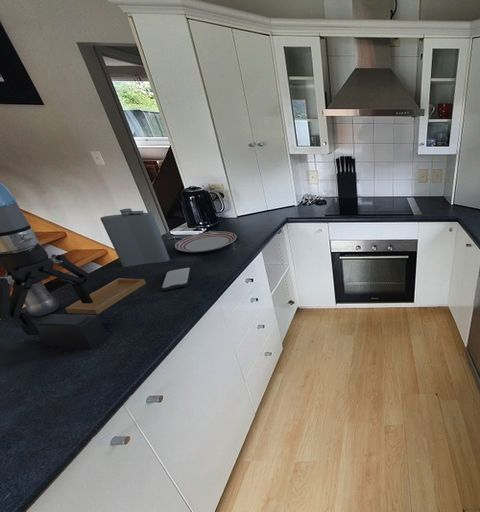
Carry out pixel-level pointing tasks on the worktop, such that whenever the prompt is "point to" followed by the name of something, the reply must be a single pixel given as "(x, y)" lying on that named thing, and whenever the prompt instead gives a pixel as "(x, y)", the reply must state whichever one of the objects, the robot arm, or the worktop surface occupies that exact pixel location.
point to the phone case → (176, 279)
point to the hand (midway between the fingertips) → (63, 317)
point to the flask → (135, 237)
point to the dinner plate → (205, 242)
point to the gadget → (71, 331)
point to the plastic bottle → (39, 300)
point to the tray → (106, 296)
